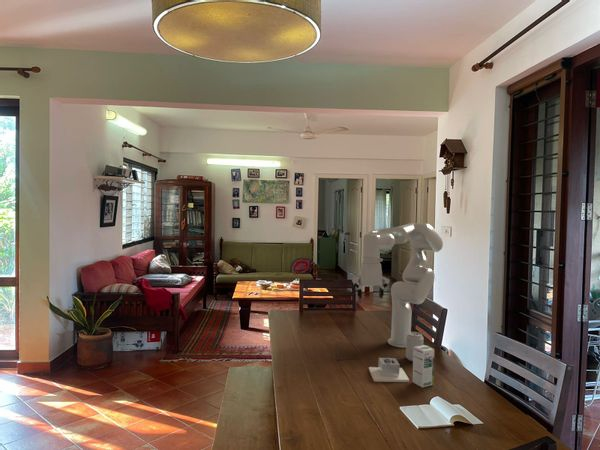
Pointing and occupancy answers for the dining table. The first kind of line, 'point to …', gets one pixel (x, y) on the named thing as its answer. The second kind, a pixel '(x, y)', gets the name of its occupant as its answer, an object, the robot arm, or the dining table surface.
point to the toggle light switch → (379, 378)
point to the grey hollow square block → (388, 368)
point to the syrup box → (423, 365)
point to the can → (413, 343)
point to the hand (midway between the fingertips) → (370, 297)
